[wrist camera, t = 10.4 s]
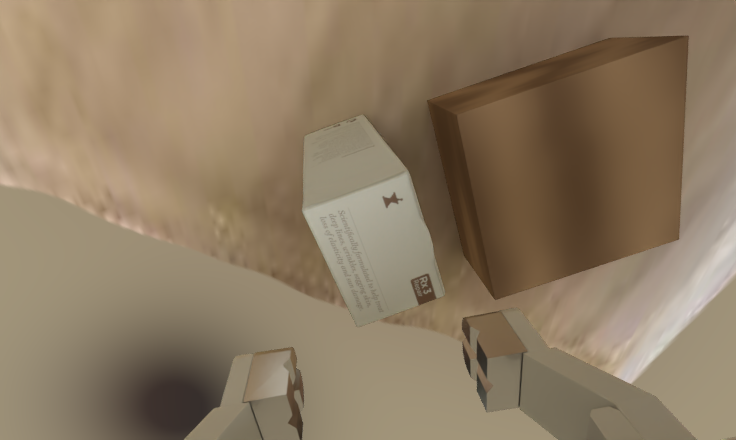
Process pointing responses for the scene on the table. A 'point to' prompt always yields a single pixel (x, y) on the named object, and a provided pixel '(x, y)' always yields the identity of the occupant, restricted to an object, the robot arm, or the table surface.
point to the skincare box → (367, 221)
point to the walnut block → (566, 160)
